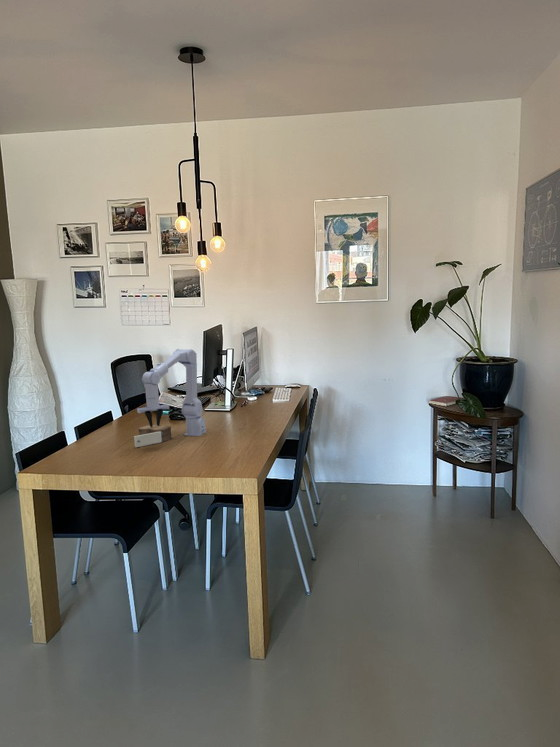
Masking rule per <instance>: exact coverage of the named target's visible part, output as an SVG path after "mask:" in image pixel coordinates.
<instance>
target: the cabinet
mask: <svg viewBox="0 0 560 747" xmlns="http://www.w3.org/2000/svg"><path fill="white" fill-rule="evenodd" d="M137 430H138V436H139V435H144V434H149V433H154V432H159V431H161V432H163V436H161V437H163V441H162V442H161V443H164V442H166V441H168V440H171V439H172V426H171V425H160V426H157V424H155V425H154V424H153V427H150V424H146V425H143V426H140V427H138V428H137Z"/></svg>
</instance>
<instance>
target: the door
mask: <svg viewBox="0 0 560 747" xmlns="http://www.w3.org/2000/svg"><path fill="white" fill-rule="evenodd" d="M161 436H163V432H161V431H159V432H154V433H149V434H144V435H139V434H138V435H134V436H133V441H134V447H135V448H141V447H144V446H145V447H146V446H149V445H150V446H151V445H154V444H159V443H163V442H162V441H163V437H161Z"/></svg>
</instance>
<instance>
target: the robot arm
mask: <svg viewBox="0 0 560 747" xmlns="http://www.w3.org/2000/svg"><path fill="white" fill-rule="evenodd" d="M197 357H198V356H197V352H196V351H195V350H194V349H192V348H191V349H179V348H177V349H175V350H174V351H172V354H171V355H170V356H169V357H168V358H167V359H166V360H165V361H164V362H158V363H156V365H155V366H154V367H153V368H151V369H150V370H149V371H146V372H144V373H143V374H142V378H141V382H142V384H143V387H144V389H145V399H146V400H145V401H146V406H145V407H140V408H139V407H138V408H136V411H137V413H138V414H141V413H144V415H145V416H146V419H147V420H148V425H150V427H153V425H154V424H153V413H152V412H155V418H156V425H157V426H161V424H160V423H161V419H162V415H163V414H164V410H170V405H169V404H168V403H167V404H160V397H159V383H160V382H161V380H162V378H163V377H164V376H165V375H166V374H168V372H169V369H170V368H172V367H173V366H174V365H175V364H177V363H179V364H181V365H183V366H184V367H185V391H186V392H185V393H186V394H185V399H183V401H182V407H181V414H182V415H183V417H184V418H185V425H186V426H185V427H186V432H184V433H183V434H182V435H183V436H193V437H200V436H202V435H204V434H207V429H206V428H207V426H206V419H205V417H203V416H202V415H203V411H204V410H203V405H202V401H201V400H200V399H199V398H198V370H197V369H198V363H197V362H198V361H197Z"/></svg>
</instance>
